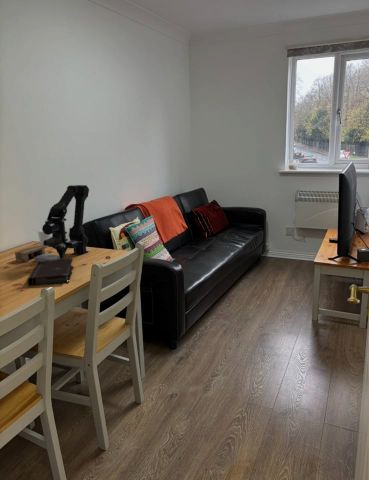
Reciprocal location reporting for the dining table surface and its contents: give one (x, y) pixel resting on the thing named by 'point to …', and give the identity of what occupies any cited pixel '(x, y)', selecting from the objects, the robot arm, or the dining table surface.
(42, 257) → the slate tile
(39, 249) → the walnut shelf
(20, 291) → the dining table surface
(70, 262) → the diary
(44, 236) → the white cup
